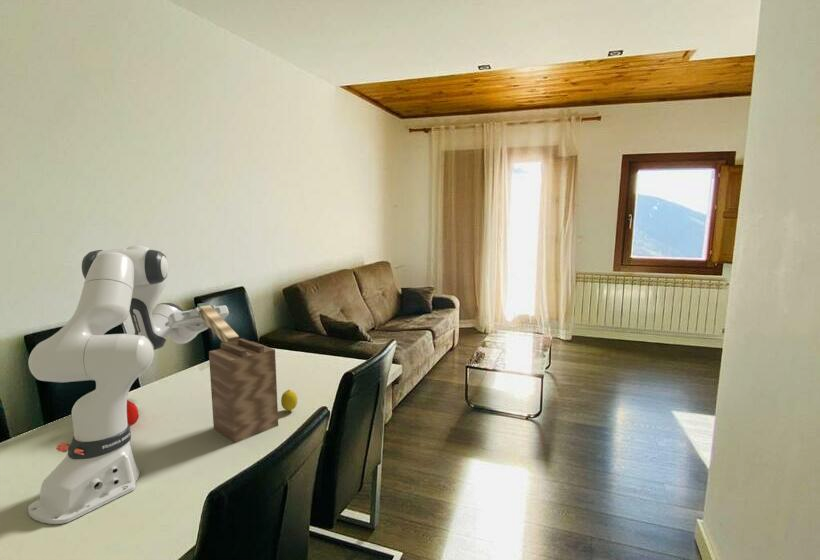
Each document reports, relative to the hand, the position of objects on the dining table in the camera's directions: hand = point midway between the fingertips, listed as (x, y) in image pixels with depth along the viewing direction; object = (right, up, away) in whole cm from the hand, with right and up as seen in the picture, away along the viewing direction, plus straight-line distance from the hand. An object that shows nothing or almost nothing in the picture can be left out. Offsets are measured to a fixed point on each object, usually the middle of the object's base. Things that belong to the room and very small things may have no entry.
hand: (206, 308), depth 152 cm
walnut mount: (+19, -38, -11) cm, 44 cm away
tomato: (-23, -39, -14) cm, 47 cm away
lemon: (+30, -37, 0) cm, 47 cm away
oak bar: (+5, -7, -4) cm, 9 cm away
